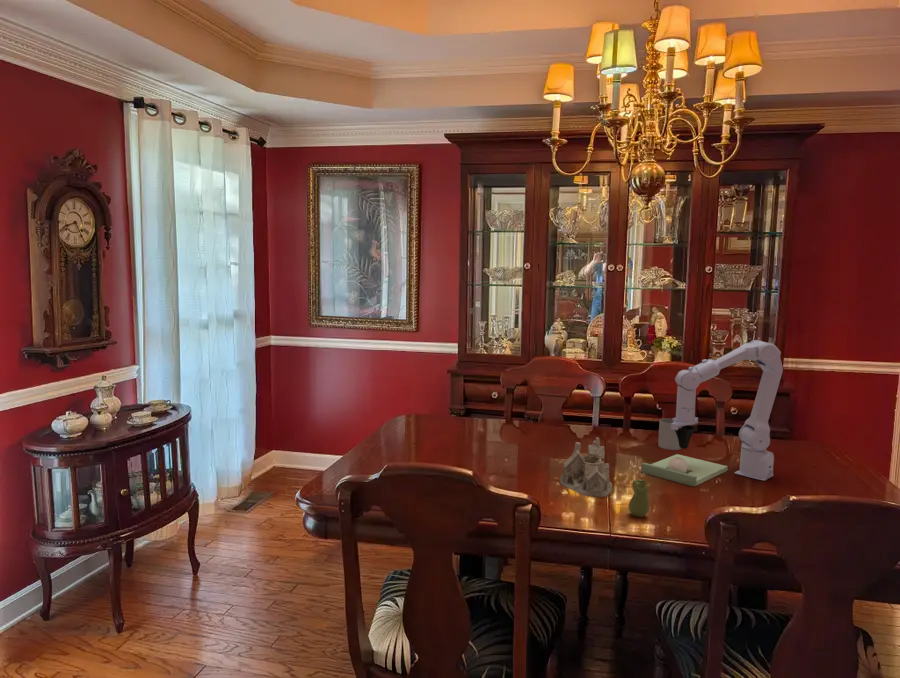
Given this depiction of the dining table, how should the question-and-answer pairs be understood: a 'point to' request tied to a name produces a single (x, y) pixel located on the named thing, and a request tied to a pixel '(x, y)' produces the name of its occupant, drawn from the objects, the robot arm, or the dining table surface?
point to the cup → (667, 435)
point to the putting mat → (694, 475)
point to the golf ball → (678, 465)
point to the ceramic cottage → (587, 471)
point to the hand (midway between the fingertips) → (683, 447)
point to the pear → (639, 499)
